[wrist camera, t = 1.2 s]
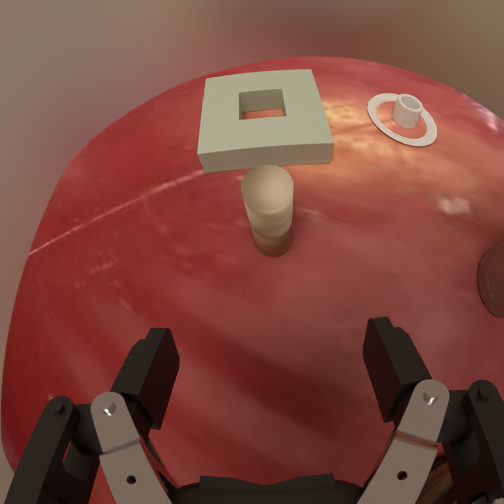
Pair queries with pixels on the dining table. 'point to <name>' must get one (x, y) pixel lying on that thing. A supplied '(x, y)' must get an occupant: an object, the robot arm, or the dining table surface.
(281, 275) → the dining table surface
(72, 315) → the dining table surface
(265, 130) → the square hole plate
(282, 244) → the birch peg
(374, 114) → the candle holder
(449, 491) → the scroll
